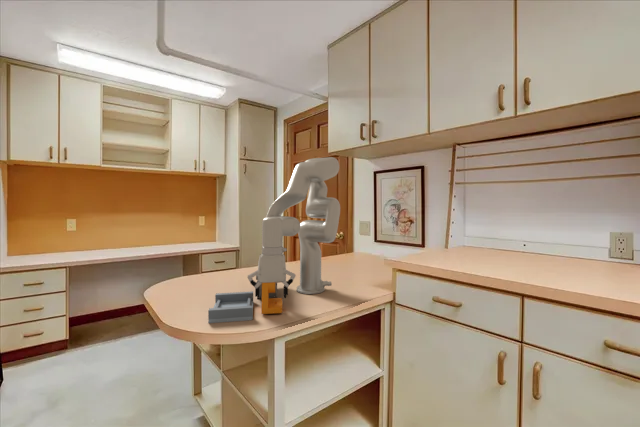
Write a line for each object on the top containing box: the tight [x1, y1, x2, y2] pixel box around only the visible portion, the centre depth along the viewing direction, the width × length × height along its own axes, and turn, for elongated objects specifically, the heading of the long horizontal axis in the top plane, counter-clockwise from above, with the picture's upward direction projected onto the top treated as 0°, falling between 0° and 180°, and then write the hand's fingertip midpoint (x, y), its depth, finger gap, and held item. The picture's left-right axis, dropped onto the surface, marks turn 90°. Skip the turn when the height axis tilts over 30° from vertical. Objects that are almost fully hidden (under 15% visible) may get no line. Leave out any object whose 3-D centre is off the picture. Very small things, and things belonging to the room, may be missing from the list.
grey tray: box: [207, 290, 254, 324], centre depth 105 cm, size 14×18×4 cm
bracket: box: [260, 282, 283, 315], centre depth 107 cm, size 11×7×12 cm, turn 8°
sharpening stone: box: [255, 275, 278, 299], centre depth 127 cm, size 25×8×11 cm, turn 7°
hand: (271, 297), depth 107 cm, fingers open, 9 cm apart
